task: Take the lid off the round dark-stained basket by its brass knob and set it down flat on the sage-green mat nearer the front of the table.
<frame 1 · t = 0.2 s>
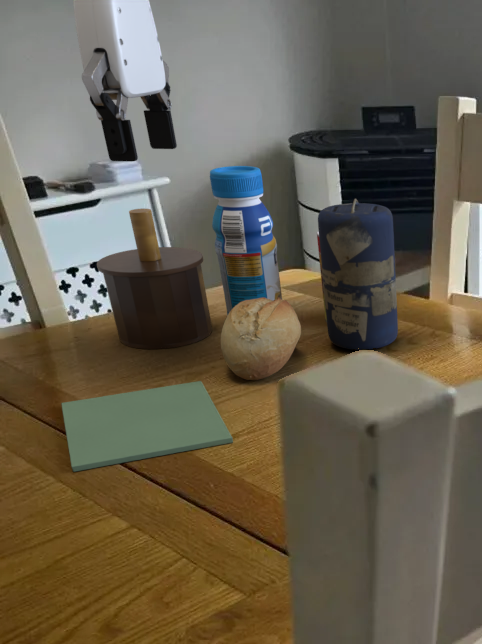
hand: (144, 154, 96), 24 cm above the table, tool pointing down, fingers open, 9 cm apart
beverage bottle: (257, 322, 121), on the table
mat: (144, 424, 91), on the table
basket: (166, 334, 117), on the table
lid: (151, 263, 111), point 9 cm above the table, touching basket
blue pillar candle: (364, 344, 113), on the table
canned food: (352, 320, 122), on the table
bread roll: (266, 365, 107), on the table
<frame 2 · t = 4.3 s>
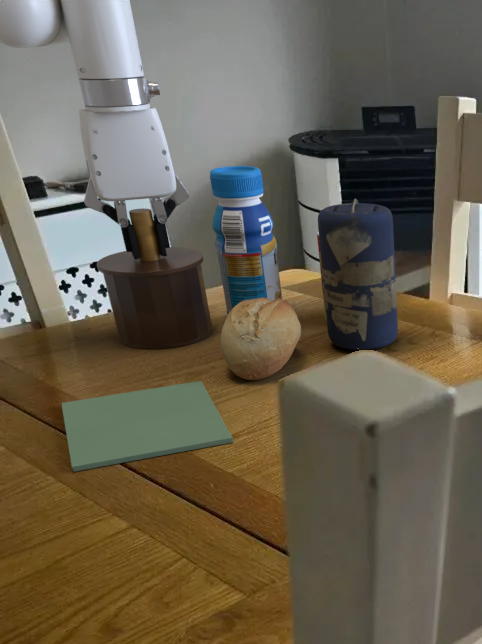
hand: (149, 254, 111), 11 cm above the table, tool pointing down, fingers closed on lid, 2 cm apart
lid: (151, 263, 111), point 10 cm above the table, touching basket, gripper
everything else where it was.
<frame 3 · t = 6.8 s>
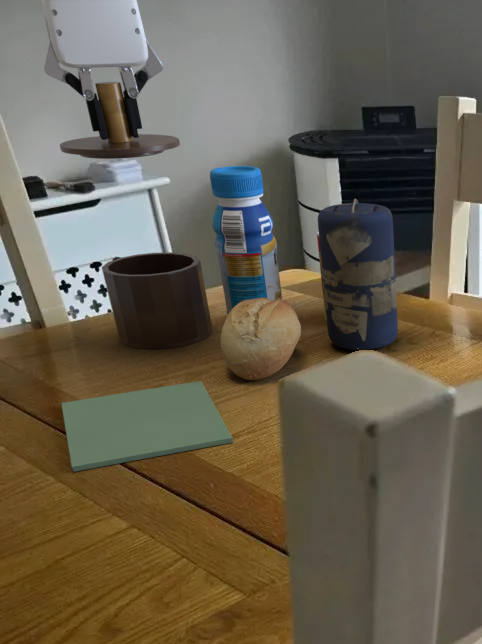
hand: (119, 135, 99), 25 cm above the table, tool pointing down, fingers closed on lid, 2 cm apart
lid: (121, 147, 100), point 24 cm above the table, touching gripper
everything else where it was.
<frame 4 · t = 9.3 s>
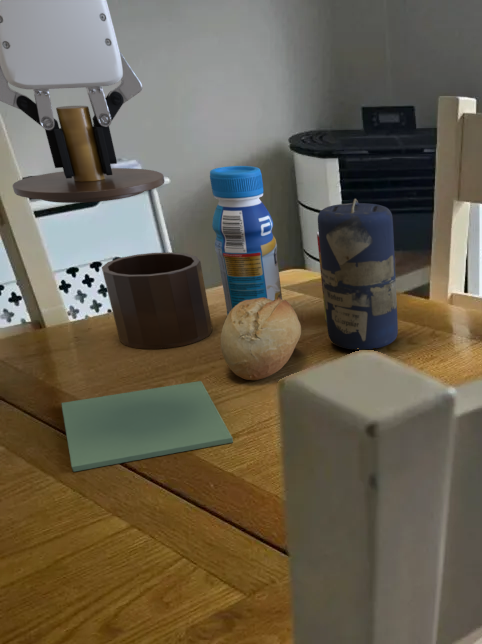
hand: (87, 172, 79), 25 cm above the table, tool pointing down, fingers closed on lid, 2 cm apart
lid: (91, 186, 80), point 24 cm above the table, touching gripper
everything else where it was.
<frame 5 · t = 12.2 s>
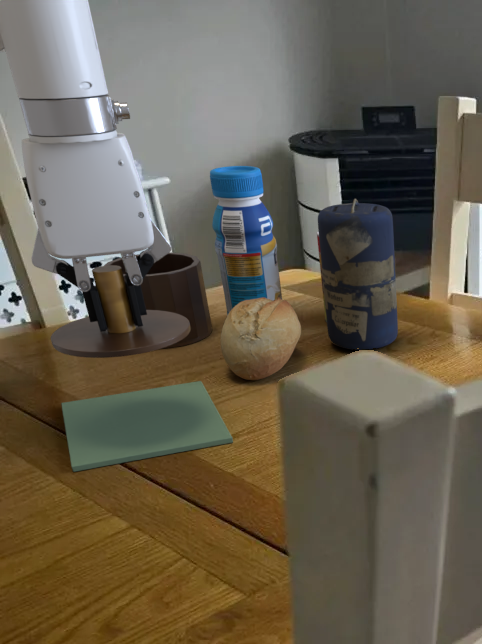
hand: (120, 323, 85), 11 cm above the table, tool pointing down, fingers closed on lid, 2 cm apart
lid: (122, 335, 86), point 10 cm above the table, touching gripper
everything else where it was.
when the fingers open (2 cm above the table, at t = 14.4 s): lid stays where it is, resting on mat.
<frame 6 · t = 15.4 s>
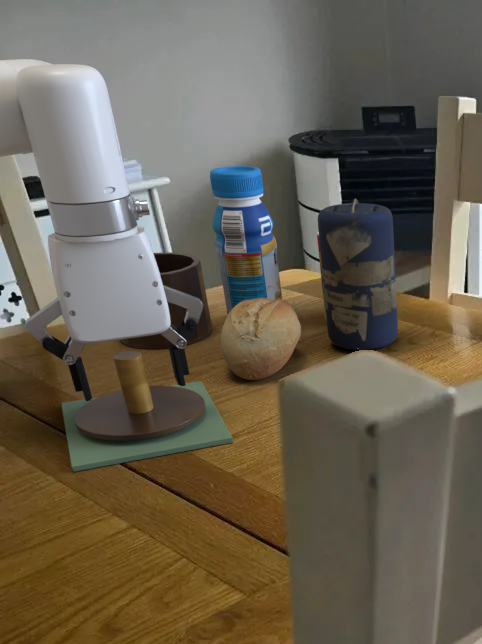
hand: (135, 389, 89), 4 cm above the table, tool pointing down, fingers open, 9 cm apart
lid: (141, 414, 91), point 1 cm above the table, touching mat
everything else where it was.
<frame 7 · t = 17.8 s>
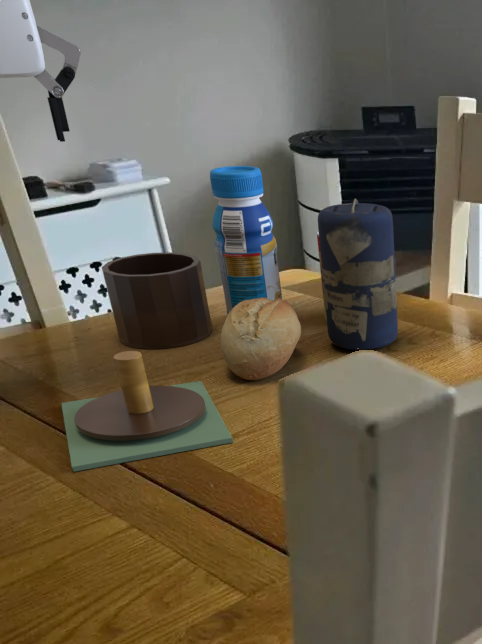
hand: (12, 142, 88), 26 cm above the table, tool pointing down, fingers open, 9 cm apart
nothing on the table moved.
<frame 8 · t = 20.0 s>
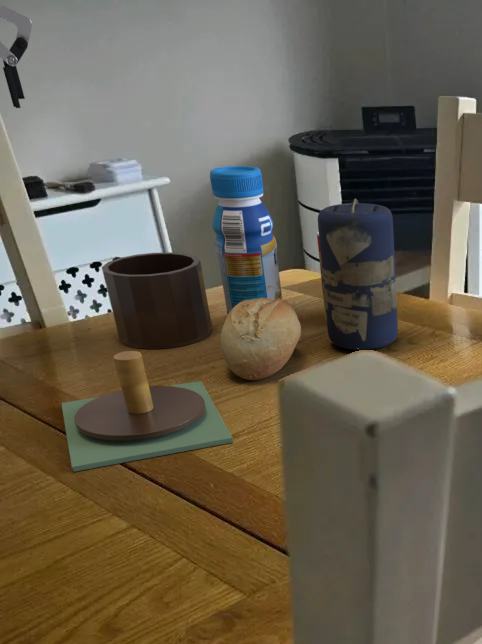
nothing on the table moved.
at the end: lid inside the target area on the mat (0.0 cm from its centre), point 1.2 cm above the mat's base; lid tilted 0°; lid touching mat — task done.
